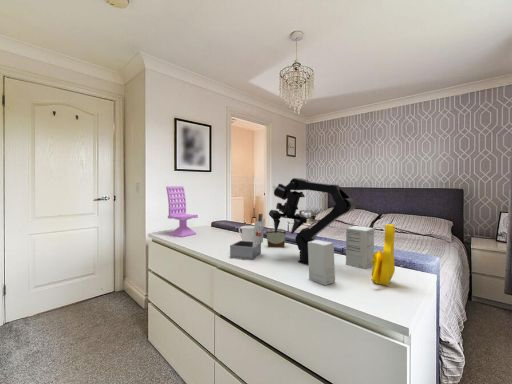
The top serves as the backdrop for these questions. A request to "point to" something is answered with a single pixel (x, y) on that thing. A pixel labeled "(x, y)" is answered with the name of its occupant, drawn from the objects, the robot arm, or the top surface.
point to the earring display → (182, 217)
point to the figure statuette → (384, 259)
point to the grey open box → (244, 250)
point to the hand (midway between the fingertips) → (283, 232)
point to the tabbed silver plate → (258, 231)
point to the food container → (276, 238)
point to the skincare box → (321, 261)
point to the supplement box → (359, 246)
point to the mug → (247, 233)
